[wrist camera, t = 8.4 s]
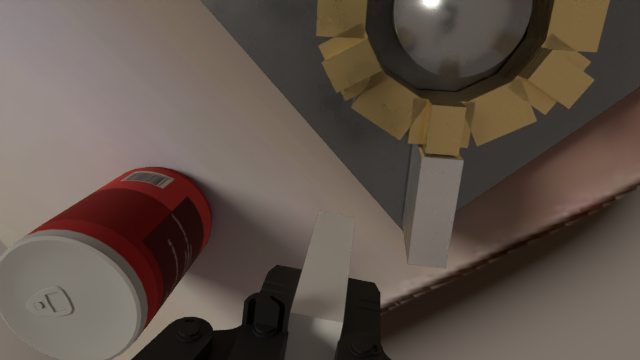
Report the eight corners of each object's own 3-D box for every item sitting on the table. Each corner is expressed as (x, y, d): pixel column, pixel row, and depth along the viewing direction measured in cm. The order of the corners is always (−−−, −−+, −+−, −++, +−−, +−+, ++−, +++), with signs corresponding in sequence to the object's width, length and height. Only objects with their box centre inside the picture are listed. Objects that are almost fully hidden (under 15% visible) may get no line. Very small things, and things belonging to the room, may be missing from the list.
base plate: (491, -314, 21) (533, -433, 15) (705, 27, 25) (801, 32, 19) (204, -5, 27) (159, -11, 22) (410, 231, 31) (418, 279, 25)
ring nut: (331, -140, 23) (319, -181, 18) (613, -134, 21) (680, -176, 17) (313, 215, 29) (302, 253, 25) (527, 235, 28) (557, 279, 23)
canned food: (89, 195, 33) (-41, 278, 23) (171, 141, 31) (69, 206, 20) (153, 276, 35) (61, 387, 24) (236, 231, 32) (172, 331, 22)
